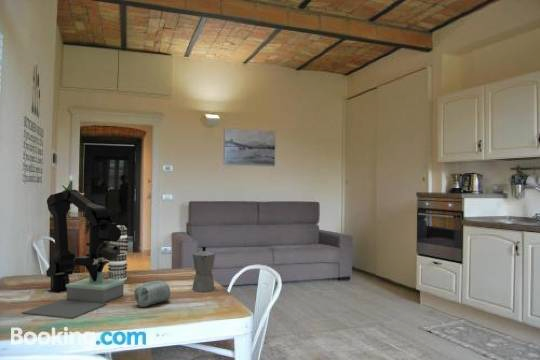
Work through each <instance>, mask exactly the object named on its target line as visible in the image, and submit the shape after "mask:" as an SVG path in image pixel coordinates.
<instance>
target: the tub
mask: <svg viewBox="0 0 540 360" xmlns="http://www.w3.org/2000/svg"><path fill="white" fill-rule="evenodd" d="M124 284H125V283H123V284H121V285H118V286H115V287H112V288H109V289H106V290H94V289H82V288H70V287H67V291H66V300H69V301H80V302H91V303H102V304H107V303H109V302H112V301H115V300H117V299H120V298H122V297H124V286H125V285H124Z"/></svg>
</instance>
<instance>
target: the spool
mask: <svg viewBox="0 0 540 360" xmlns="http://www.w3.org/2000/svg"><path fill="white" fill-rule="evenodd" d="M170 299H171V288H170V285H169V284H168V283H167V282H166V281H164V280H153V281H149V282H146V283H143V284H139V285H138V286H136V288H135V289H134V300H135V302H136V304H137V305H138V307H141V308H146V307H148V306H151V305H155V304H156V305H157V304H160V303H164V302H167V301H169V300H170Z"/></svg>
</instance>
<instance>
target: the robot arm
mask: <svg viewBox="0 0 540 360" xmlns="http://www.w3.org/2000/svg"><path fill="white" fill-rule="evenodd" d="M71 204H72V205H74V206H75V207H76V208H77V209H79V210H80V211H82V213H83V217H84V218H85V220H86V221H88V223H87V224H86V225H85V228H88V242H86V246H87V247H88V253H86V254H85V255H84V256H83V255H82V256H76V255H75V253H73V252H71V250H70V249H69V235H68V234H69V233H68V232H69V231H68V218H67V215H68V213H69V211H70V210H71ZM46 205H47V209H48V212H49V213H50V214H51V216H52V221H53V233H54V234H53V235H54V237H53V238H54V249H55V251H54V253H53V255H52V257H51V260H50V261H51V264H50V265H49V266H48V268H47V269H46V271H45V274H46V277H48V278H50V289H47V292H50V293H62V292H67V287H66V284H69V283H70V275H73V274H74V270H75V267H76V266H78V267H79V266H80V267H81V266H82V267H85V269H86V270H87V271H88V273H89V277H90V276H91V278H92V280H93V281H96V279H97V272H103V270H104V268H105V266H106V265H107V264H109V261H112V260H114V259H115V260H116V259H118V255H120V247H119V246H114V247H113V248H112V247H108V245H109V244H108V242H109V241H112V242H116V241H118V240H119V239H120V237H121V231H120V229H119V228H118V227H117V225H118V224H117V223H115V222H114V220H113V219H112V216H111V214H110V213H109V210H108V209H107V207H105V206H103V205H99V204H95V203H93V202H92V201H91V200H89V198H86V197H85V196H84V195H83V194H81V193H80V192H79V190H77V189H69V188H68V189H67V188H66V189H64V190H63V191H60V192H57V193H54V194H53V193H52V194H50V195H49V196H48V198H47V199H46Z"/></svg>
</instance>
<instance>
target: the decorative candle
mask: <svg viewBox="0 0 540 360" xmlns="http://www.w3.org/2000/svg"><path fill="white" fill-rule="evenodd" d="M117 227H118V228H119V229H120V231H121V237H120V239H119V240H118V241H116V242H112V241H107V243H108V247H112V248H113V247H114V246H119V247H120V255H118V259H116V260H115V259H114V260H112V261H109V260H108V261H109V263H108V265H107V270H108V271H107V279H112V280H125V281H127V279H128V270H127V269H128V267H127V266H128V263H127V261H128V259H127V255H128V252H127V251H129V248H128V247H129V245H127V244H128V243H129V241H128V240H130V238H129V237H128V234H127V233H128V228H127V227H126V226H125V225H123V224H121V225H120V224H117Z"/></svg>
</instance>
